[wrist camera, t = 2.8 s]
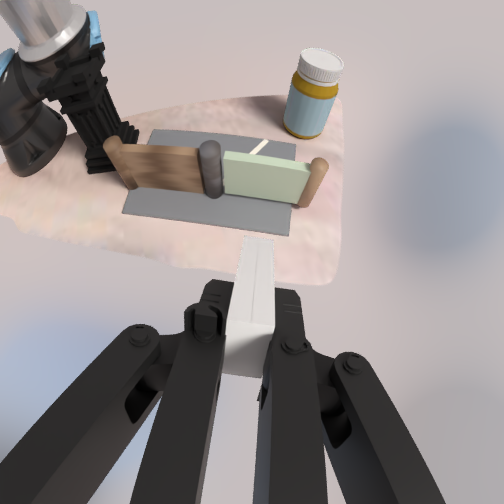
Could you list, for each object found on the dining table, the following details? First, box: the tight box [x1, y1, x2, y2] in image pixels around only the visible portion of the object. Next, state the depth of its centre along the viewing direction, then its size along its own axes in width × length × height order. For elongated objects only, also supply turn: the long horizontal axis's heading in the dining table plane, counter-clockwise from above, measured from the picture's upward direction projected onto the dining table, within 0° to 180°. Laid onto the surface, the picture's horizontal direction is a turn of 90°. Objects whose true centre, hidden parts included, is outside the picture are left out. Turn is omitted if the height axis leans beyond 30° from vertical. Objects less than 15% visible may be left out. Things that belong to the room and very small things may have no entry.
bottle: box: [283, 48, 344, 139], centre depth 37 cm, size 7×7×15 cm
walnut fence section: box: [103, 136, 223, 199], centre depth 34 cm, size 15×2×10 cm, turn 82°
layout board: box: [122, 129, 296, 236], centre depth 40 cm, size 24×16×1 cm, turn 82°
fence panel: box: [223, 151, 329, 208], centre depth 34 cm, size 12×2×9 cm, turn 82°
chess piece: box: [36, 42, 139, 174], centre depth 31 cm, size 8×8×20 cm
